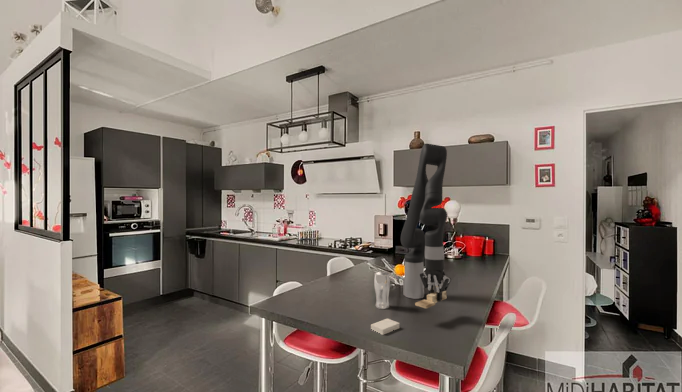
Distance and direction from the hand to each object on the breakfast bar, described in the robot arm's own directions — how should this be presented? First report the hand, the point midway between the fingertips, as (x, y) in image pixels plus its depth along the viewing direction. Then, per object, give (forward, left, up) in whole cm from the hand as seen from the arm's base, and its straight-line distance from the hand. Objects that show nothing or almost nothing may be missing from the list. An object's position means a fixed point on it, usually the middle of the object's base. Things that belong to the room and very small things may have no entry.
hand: (435, 300), depth 124 cm
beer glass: (-23, -6, -7) cm, 25 cm away
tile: (-6, -18, -6) cm, 20 cm away
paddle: (0, -2, 0) cm, 2 cm away
